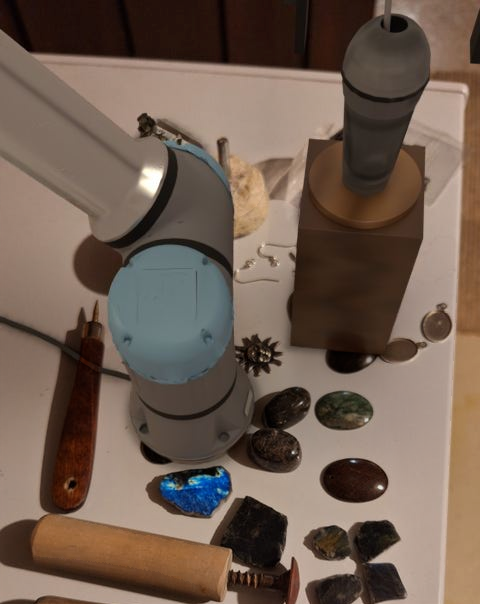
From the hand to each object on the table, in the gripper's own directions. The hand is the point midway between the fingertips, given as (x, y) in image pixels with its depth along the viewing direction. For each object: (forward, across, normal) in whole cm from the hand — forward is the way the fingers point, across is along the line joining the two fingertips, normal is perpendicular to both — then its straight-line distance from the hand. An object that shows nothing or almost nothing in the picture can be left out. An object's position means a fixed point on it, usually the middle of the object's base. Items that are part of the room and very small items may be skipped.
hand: (386, 47), depth 50 cm
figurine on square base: (+37, +28, -26) cm, 53 cm away
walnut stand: (+36, 0, 0) cm, 37 cm away
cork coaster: (+14, 0, 0) cm, 15 cm away
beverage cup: (+14, 0, 0) cm, 14 cm away
